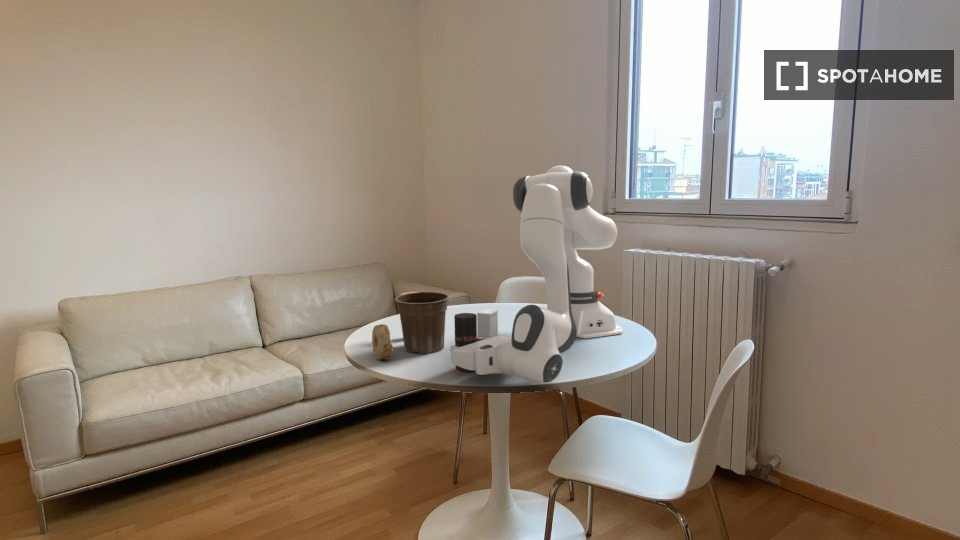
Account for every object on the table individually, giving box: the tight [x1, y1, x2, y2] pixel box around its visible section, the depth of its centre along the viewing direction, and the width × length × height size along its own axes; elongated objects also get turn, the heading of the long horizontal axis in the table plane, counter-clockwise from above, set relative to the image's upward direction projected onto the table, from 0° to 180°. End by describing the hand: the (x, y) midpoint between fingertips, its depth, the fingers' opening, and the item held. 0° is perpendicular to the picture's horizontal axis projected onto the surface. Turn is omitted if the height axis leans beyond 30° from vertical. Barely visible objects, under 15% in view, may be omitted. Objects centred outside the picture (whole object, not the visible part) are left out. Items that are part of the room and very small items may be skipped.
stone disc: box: [371, 323, 394, 361], centre depth 156 cm, size 10×4×10 cm, turn 29°
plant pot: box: [394, 291, 450, 355], centre depth 166 cm, size 16×16×16 cm
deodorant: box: [454, 312, 477, 374], centre depth 146 cm, size 6×6×15 cm
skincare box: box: [476, 308, 499, 338], centre depth 163 cm, size 6×4×12 cm
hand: (465, 344), depth 146 cm, fingers open, 8 cm apart
